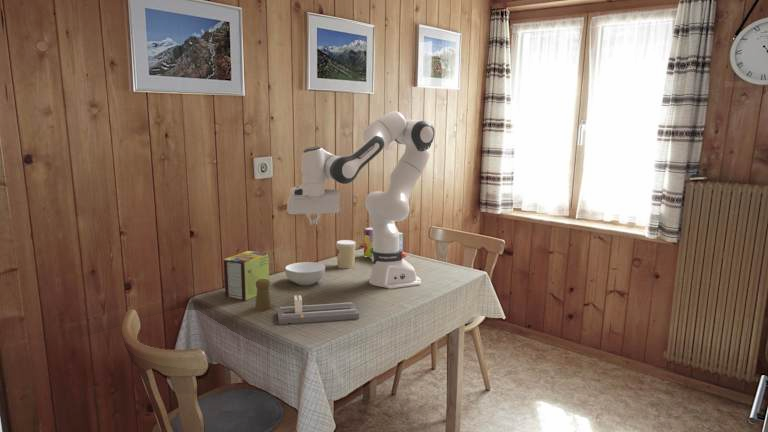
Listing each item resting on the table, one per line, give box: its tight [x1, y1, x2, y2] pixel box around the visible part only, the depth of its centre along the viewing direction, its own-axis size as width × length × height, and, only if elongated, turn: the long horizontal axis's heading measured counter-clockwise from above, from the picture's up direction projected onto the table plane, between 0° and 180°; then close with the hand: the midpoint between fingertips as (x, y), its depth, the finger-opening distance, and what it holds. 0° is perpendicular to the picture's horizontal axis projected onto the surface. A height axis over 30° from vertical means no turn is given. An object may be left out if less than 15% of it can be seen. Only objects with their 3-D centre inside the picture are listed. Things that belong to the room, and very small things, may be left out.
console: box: [277, 301, 360, 325], centre depth 194 cm, size 28×11×3 cm, turn 103°
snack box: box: [363, 226, 404, 257], centre depth 269 cm, size 21×6×15 cm, turn 52°
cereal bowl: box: [284, 261, 326, 286], centre depth 232 cm, size 17×17×7 cm
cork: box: [254, 279, 273, 312], centre depth 200 cm, size 6×6×11 cm
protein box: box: [223, 250, 270, 301], centre depth 216 cm, size 10×15×16 cm
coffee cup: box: [335, 239, 357, 269], centre depth 256 cm, size 9×9×12 cm
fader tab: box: [293, 294, 303, 313], centre depth 192 cm, size 2×5×5 cm, turn 13°
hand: (313, 224), depth 210 cm, fingers closed
